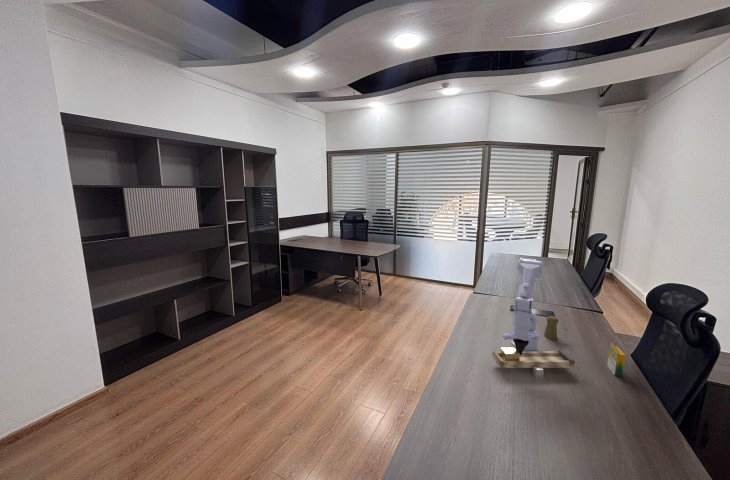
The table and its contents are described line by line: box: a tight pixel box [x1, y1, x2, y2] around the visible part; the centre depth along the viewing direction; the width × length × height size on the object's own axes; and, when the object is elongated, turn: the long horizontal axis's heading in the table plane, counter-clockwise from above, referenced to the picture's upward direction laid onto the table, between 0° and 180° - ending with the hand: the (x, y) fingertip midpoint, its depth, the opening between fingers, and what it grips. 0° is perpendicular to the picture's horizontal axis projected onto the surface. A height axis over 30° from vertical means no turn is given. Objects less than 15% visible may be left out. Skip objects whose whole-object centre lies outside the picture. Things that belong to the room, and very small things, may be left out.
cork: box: [543, 315, 559, 340], centre depth 154 cm, size 6×6×11 cm
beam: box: [491, 349, 576, 369], centre depth 127 cm, size 31×9×4 cm, turn 89°
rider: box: [499, 346, 520, 361], centre depth 127 cm, size 6×5×4 cm
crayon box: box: [606, 341, 627, 378], centre depth 124 cm, size 7×3×12 cm, turn 160°
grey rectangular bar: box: [532, 367, 545, 379], centre depth 127 cm, size 3×14×4 cm, turn 179°
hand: (519, 354), depth 126 cm, fingers closed
